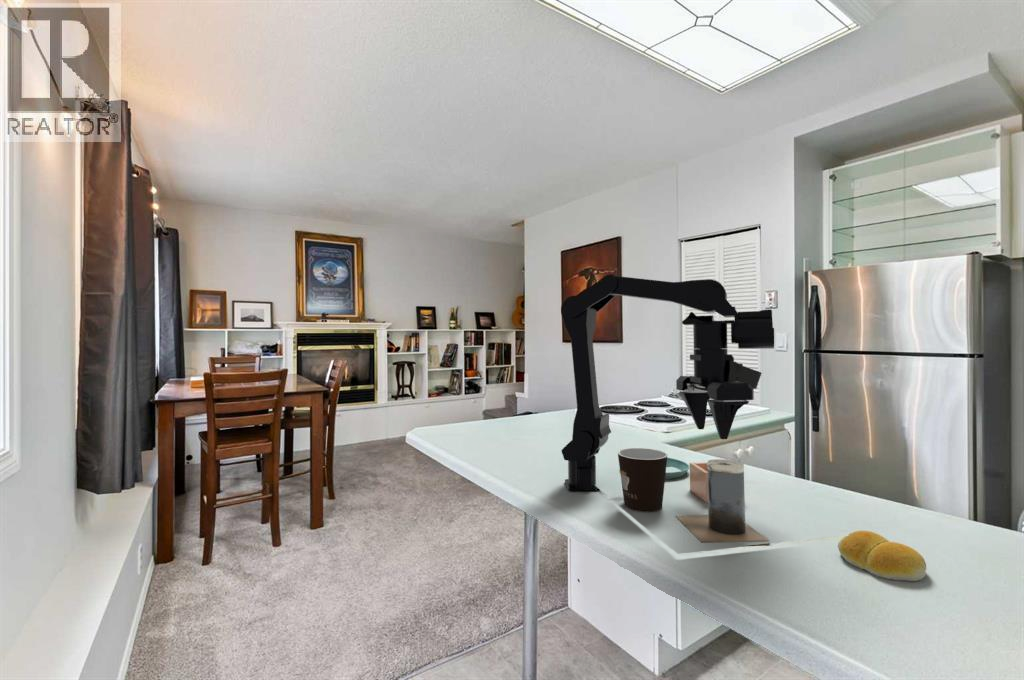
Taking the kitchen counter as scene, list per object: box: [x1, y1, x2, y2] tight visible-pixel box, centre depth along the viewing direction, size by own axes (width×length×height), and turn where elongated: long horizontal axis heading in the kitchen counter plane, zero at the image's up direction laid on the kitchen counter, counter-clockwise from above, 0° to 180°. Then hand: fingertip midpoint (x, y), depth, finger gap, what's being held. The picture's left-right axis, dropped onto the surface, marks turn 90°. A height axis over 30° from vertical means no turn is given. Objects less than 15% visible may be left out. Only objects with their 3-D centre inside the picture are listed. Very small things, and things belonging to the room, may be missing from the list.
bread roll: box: [837, 530, 927, 582], centre depth 61 cm, size 8×9×4 cm
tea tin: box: [706, 459, 746, 534], centre depth 72 cm, size 5×5×10 cm
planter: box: [689, 462, 708, 503], centre depth 87 cm, size 7×7×6 cm
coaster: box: [675, 514, 770, 547], centre depth 72 cm, size 10×10×1 cm
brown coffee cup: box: [617, 447, 668, 513], centre depth 84 cm, size 12×9×10 cm
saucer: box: [665, 457, 690, 480], centre depth 104 cm, size 15×15×3 cm
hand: (711, 433), depth 84 cm, fingers open, 9 cm apart
